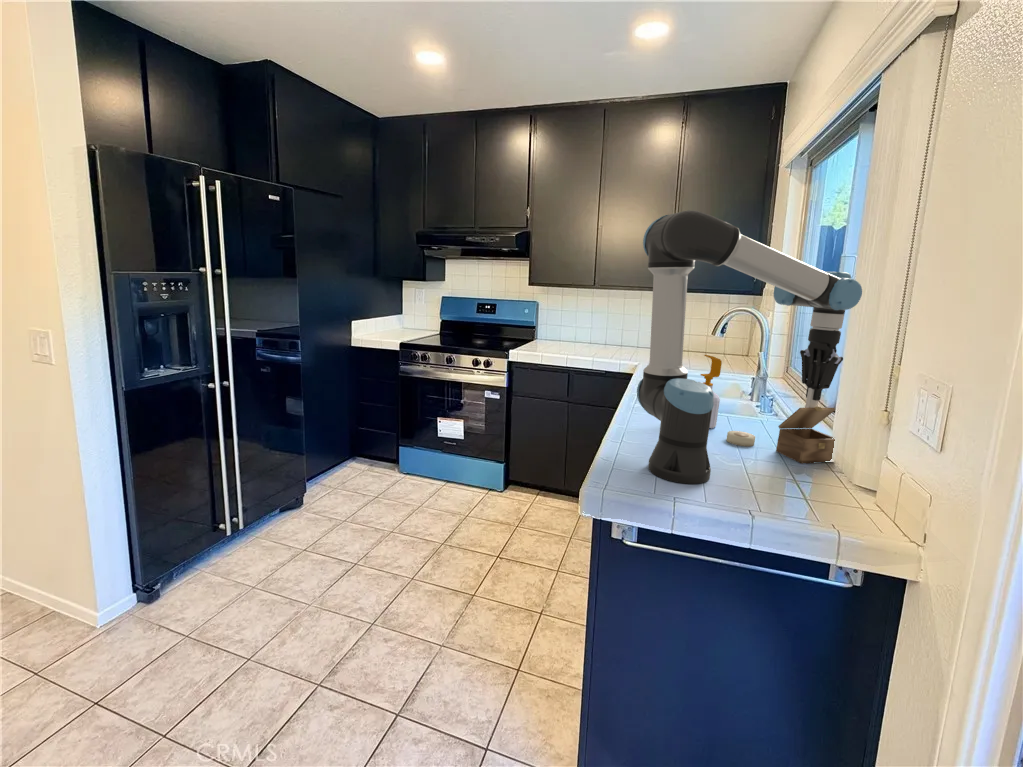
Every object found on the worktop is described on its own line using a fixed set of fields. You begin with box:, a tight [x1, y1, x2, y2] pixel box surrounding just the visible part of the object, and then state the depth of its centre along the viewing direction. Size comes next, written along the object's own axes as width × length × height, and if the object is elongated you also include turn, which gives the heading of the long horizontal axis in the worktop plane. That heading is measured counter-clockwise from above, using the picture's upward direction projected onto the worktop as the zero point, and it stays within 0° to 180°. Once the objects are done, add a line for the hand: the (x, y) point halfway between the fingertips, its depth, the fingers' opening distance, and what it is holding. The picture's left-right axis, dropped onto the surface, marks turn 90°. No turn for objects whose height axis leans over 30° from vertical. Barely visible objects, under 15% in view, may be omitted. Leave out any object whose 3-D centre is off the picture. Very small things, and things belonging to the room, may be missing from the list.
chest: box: [775, 428, 835, 464], centre depth 145 cm, size 11×10×7 cm
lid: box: [778, 406, 836, 430], centre depth 145 cm, size 11×10×1 cm
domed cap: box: [726, 430, 756, 448], centre depth 156 cm, size 8×8×3 cm
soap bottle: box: [700, 354, 723, 429], centre depth 170 cm, size 9×9×25 cm
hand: (810, 410), depth 144 cm, fingers closed
